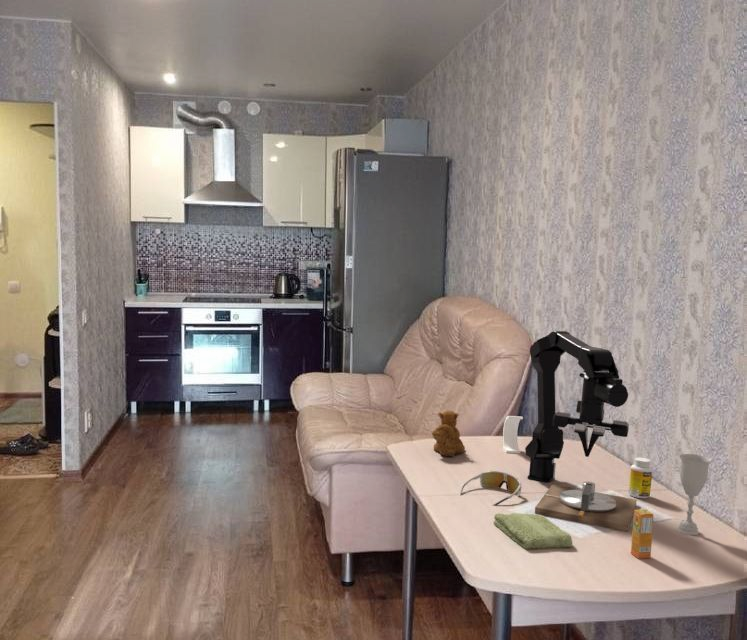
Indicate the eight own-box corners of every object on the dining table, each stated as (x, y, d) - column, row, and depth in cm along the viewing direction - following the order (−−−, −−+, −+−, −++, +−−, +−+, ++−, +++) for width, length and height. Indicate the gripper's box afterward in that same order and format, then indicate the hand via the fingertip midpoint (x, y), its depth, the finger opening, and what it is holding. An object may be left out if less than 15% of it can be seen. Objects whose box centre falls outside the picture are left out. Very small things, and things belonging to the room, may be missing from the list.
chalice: (689, 538, 175) (696, 463, 174) (665, 527, 181) (673, 455, 180) (710, 534, 179) (718, 460, 177) (686, 524, 185) (694, 453, 183)
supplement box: (628, 552, 164) (633, 508, 163) (643, 552, 165) (647, 508, 164) (636, 559, 161) (641, 514, 160) (651, 558, 162) (655, 513, 161)
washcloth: (539, 521, 182) (540, 508, 182) (576, 550, 165) (577, 536, 165) (489, 522, 179) (490, 509, 178) (521, 553, 162) (522, 538, 161)
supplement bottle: (641, 500, 202) (644, 463, 201) (624, 494, 206) (627, 457, 205) (654, 497, 205) (657, 461, 204) (637, 491, 209) (640, 455, 208)
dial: (562, 490, 201) (564, 472, 200) (617, 499, 196) (619, 480, 195) (554, 509, 185) (556, 489, 184) (613, 519, 180) (615, 499, 179)
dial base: (534, 513, 186) (535, 506, 186) (552, 489, 206) (552, 483, 206) (627, 531, 177) (628, 524, 177) (636, 505, 197) (636, 498, 197)
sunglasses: (529, 495, 200) (529, 478, 199) (499, 516, 189) (499, 498, 188) (484, 482, 209) (484, 465, 208) (453, 501, 198) (453, 483, 197)
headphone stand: (506, 452, 242) (508, 416, 241) (501, 447, 248) (504, 412, 247) (520, 453, 242) (523, 417, 241) (515, 448, 248) (518, 412, 247)
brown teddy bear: (465, 449, 243) (468, 409, 242) (460, 460, 230) (463, 418, 228) (435, 445, 245) (437, 406, 244) (427, 456, 232) (430, 415, 231)
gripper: (632, 397, 197) (626, 454, 199) (560, 387, 204) (554, 443, 206) (630, 405, 187) (624, 465, 189) (554, 394, 194) (548, 453, 195)
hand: (587, 456), depth 195 cm, fingers closed
